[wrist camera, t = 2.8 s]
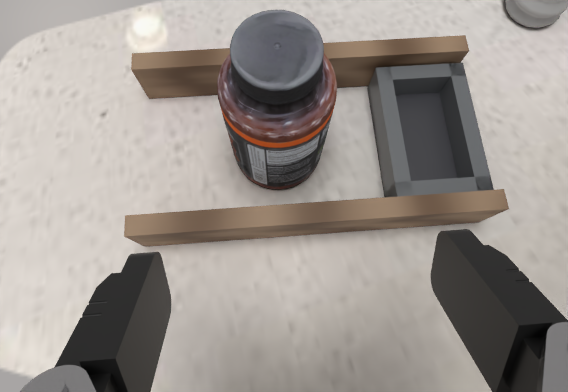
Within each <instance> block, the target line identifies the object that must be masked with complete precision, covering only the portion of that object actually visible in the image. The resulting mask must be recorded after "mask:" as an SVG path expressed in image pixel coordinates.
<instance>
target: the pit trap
mask: <svg viewBox="0 0 568 392" xmlns="http://www.w3.org/2000/svg"><path fill="white" fill-rule="evenodd" d="M368 94H369V100H370V107H371V113H372V119H373V126H374V132H375V139H376V145H377V151H378V158H379V164H380V170H381V177H382V183H383V189H384V196H385V197H399V196H413V195H428V194H442V193H457V192H471V191H485V190H494V189H493V185H492V181H491V177H490V173H489V169H488V165H487V160H486V156H485V152H484V148H483V144H482V140H481V136H480V132H479V128H478V123H477V119H476V115H475V111H474V107H473V103H472V99H471V95H470V91H469V86H468V82H467V78H466V74H465V70H464V66H463V63H448V64H431V65H413V66H396V67H378V68H375V71H374V73H373V76H372V78H371V81H370V83H369V86H368Z"/></svg>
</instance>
